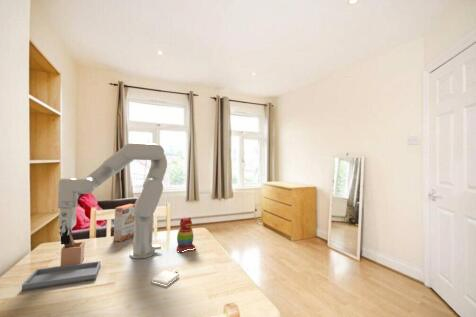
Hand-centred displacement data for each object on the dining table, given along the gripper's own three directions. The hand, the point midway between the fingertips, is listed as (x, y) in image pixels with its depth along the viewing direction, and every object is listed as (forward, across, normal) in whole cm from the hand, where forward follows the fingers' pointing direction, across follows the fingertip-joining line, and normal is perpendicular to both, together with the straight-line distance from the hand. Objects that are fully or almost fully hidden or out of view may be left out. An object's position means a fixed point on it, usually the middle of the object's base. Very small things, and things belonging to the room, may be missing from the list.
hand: (66, 242), depth 107 cm
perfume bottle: (+12, -28, -44) cm, 54 cm away
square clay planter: (+11, 0, -3) cm, 11 cm away
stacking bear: (+11, +2, -57) cm, 58 cm away
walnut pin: (+2, 0, -2) cm, 2 cm away
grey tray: (+11, -14, -3) cm, 18 cm away
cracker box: (+11, +32, -24) cm, 41 cm away
